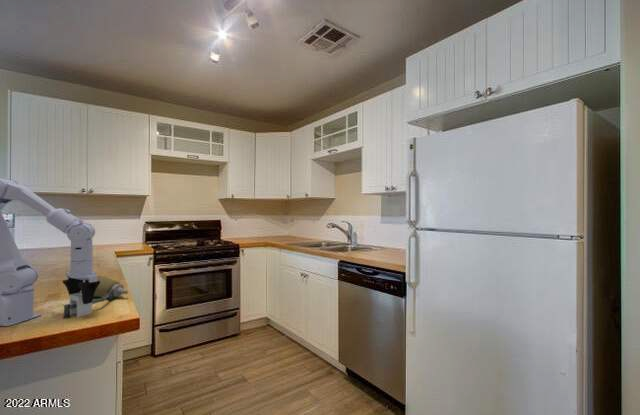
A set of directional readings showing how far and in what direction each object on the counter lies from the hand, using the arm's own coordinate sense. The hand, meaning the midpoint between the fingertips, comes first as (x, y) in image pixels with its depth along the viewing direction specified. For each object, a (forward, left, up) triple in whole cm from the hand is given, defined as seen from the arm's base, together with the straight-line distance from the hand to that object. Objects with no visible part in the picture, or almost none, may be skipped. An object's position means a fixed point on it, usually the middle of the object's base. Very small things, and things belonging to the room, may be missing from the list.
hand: (81, 301), depth 100 cm
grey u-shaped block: (0, 0, -4) cm, 4 cm away
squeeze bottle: (+19, +17, 0) cm, 25 cm away
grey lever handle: (+5, +1, -4) cm, 7 cm away
